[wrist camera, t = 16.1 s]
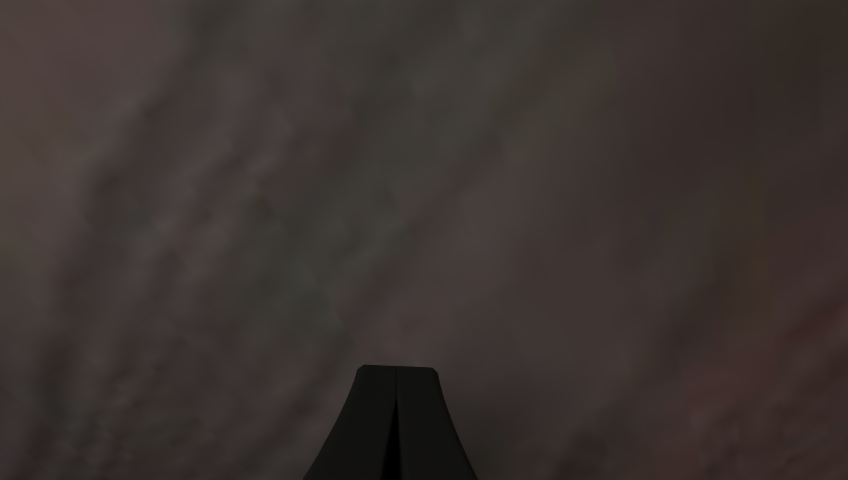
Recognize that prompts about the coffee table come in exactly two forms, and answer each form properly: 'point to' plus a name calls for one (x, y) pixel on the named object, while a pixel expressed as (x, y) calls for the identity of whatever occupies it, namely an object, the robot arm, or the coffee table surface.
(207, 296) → the coffee table surface
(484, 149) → the coffee table surface
